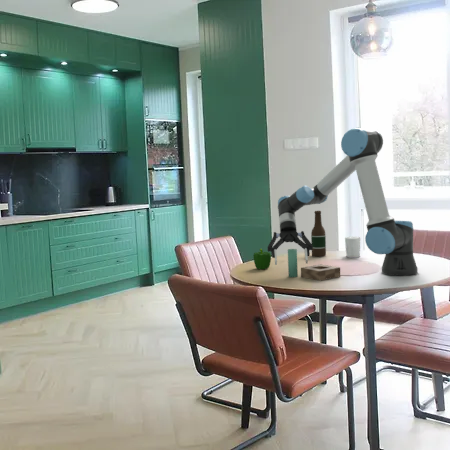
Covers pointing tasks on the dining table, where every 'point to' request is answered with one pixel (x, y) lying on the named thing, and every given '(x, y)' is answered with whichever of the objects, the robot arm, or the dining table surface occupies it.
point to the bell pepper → (262, 259)
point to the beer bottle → (318, 237)
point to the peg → (292, 263)
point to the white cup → (352, 246)
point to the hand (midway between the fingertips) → (291, 262)
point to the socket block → (320, 272)
